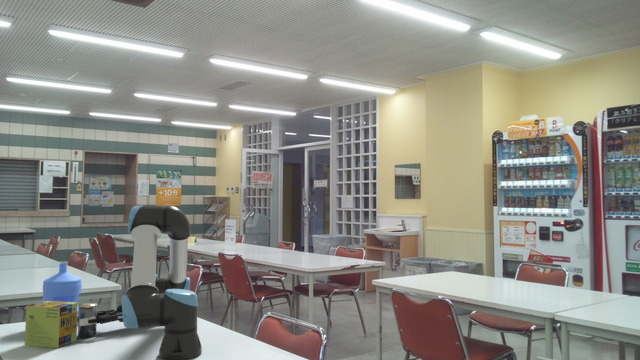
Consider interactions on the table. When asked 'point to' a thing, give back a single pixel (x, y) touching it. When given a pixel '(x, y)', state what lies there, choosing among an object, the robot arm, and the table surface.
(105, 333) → the table surface
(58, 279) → the water jug
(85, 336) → the gold and gray tin
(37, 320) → the protein box
